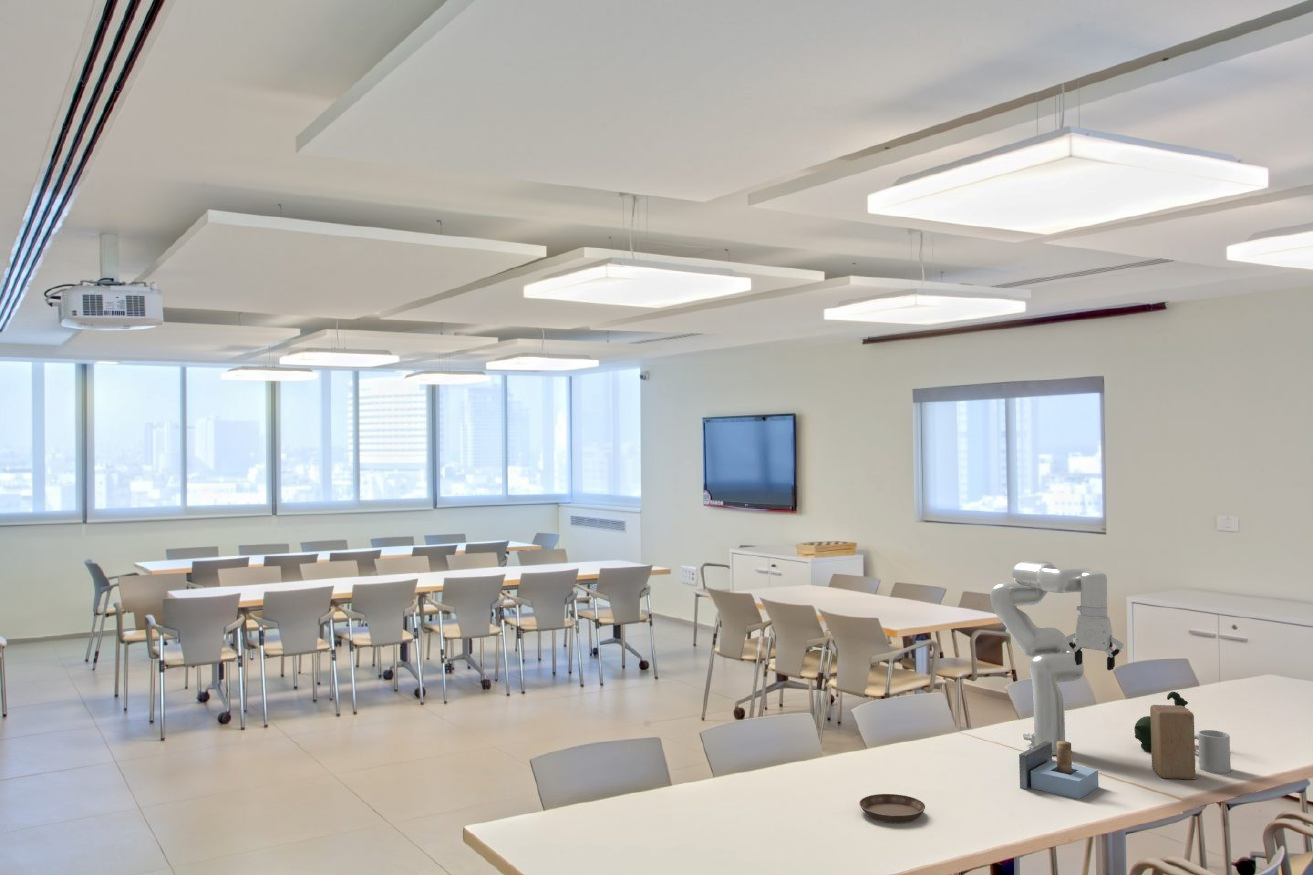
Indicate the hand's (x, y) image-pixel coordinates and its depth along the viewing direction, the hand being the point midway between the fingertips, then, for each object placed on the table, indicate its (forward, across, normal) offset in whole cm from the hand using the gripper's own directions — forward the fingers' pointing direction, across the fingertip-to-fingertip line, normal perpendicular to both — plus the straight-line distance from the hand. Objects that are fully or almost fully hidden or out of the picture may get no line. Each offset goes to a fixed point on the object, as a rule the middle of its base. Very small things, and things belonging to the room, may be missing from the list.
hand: (1094, 666), depth 308 cm
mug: (+32, +24, +26) cm, 48 cm away
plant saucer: (+32, -23, -76) cm, 86 cm away
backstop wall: (+32, -7, -24) cm, 40 cm away
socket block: (+31, +1, -23) cm, 39 cm away
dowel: (+30, +1, -23) cm, 38 cm away
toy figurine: (+32, +6, +37) cm, 49 cm away
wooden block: (+32, +19, +12) cm, 39 cm away
